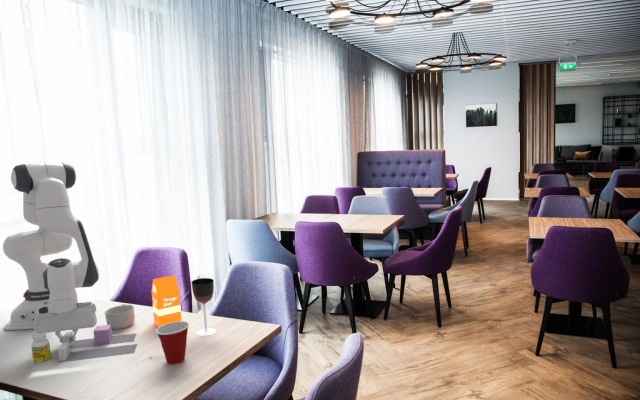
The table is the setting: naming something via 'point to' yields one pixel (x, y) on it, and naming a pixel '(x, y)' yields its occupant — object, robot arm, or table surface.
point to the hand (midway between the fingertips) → (67, 341)
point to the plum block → (102, 334)
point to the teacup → (120, 316)
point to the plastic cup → (173, 340)
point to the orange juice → (166, 300)
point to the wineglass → (203, 299)
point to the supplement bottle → (40, 348)
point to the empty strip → (92, 352)
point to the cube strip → (92, 343)
